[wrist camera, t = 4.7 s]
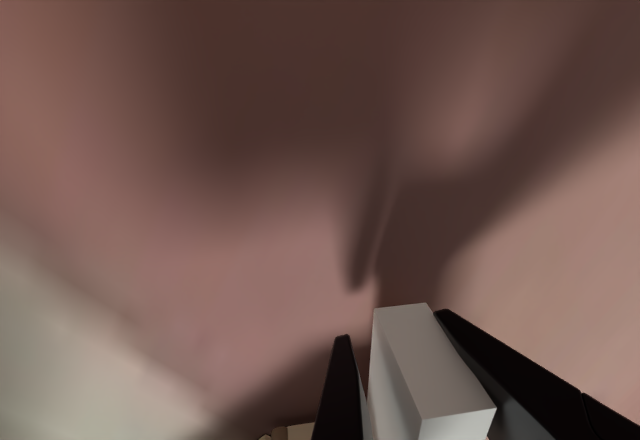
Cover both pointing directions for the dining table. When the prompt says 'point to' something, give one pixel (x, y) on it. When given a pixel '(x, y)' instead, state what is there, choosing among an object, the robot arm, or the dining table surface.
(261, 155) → the dining table surface
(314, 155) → the dining table surface
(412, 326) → the flap
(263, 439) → the carton
